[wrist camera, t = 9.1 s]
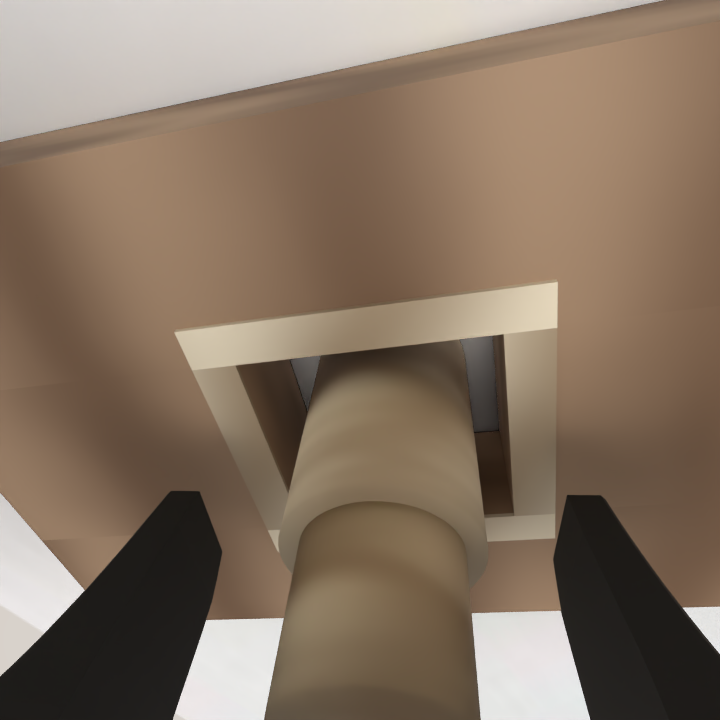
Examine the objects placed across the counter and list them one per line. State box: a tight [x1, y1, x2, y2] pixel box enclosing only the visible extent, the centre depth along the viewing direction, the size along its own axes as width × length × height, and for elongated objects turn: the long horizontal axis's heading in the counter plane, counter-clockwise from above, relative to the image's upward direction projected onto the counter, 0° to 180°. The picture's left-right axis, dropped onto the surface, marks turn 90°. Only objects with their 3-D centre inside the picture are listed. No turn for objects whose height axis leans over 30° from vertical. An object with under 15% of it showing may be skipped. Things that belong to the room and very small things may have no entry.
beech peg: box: [264, 339, 488, 720], centre depth 12 cm, size 4×4×9 cm
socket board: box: [0, 0, 720, 620], centre depth 14 cm, size 22×15×3 cm
